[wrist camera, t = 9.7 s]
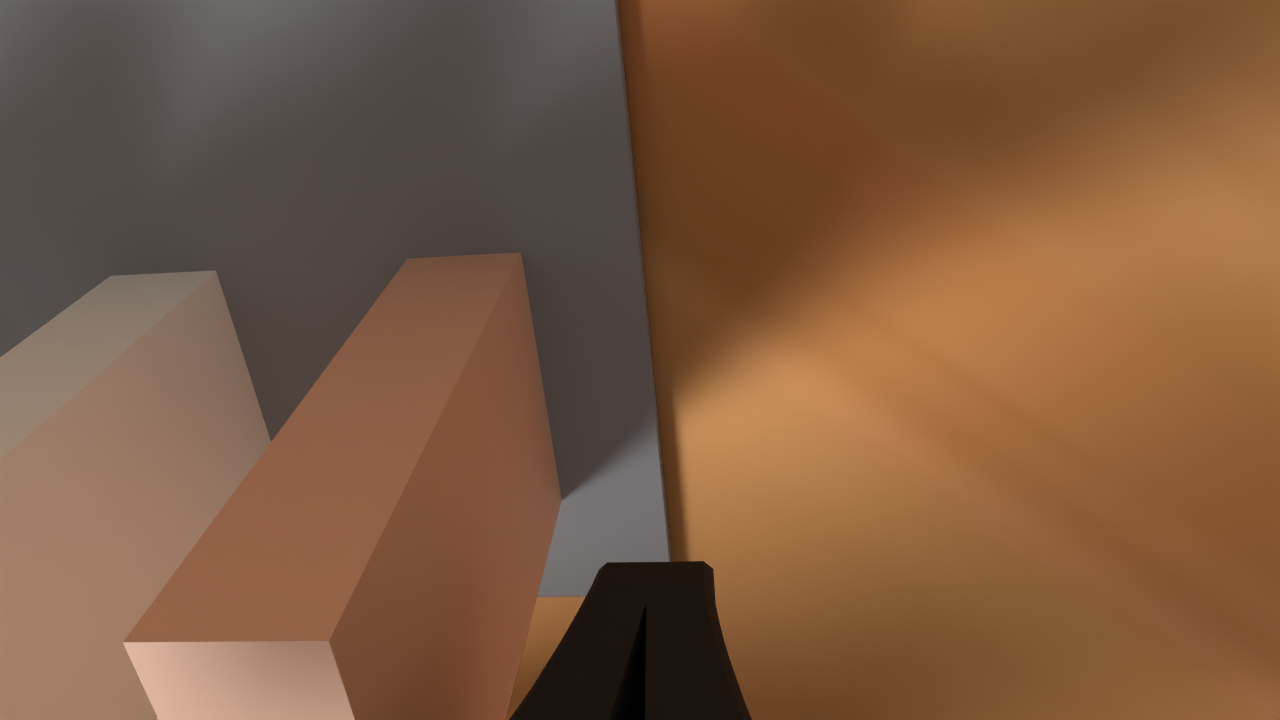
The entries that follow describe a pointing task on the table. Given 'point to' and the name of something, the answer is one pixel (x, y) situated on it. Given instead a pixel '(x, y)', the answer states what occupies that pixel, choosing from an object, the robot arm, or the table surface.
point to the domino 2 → (378, 525)
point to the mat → (350, 196)
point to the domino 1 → (111, 481)
